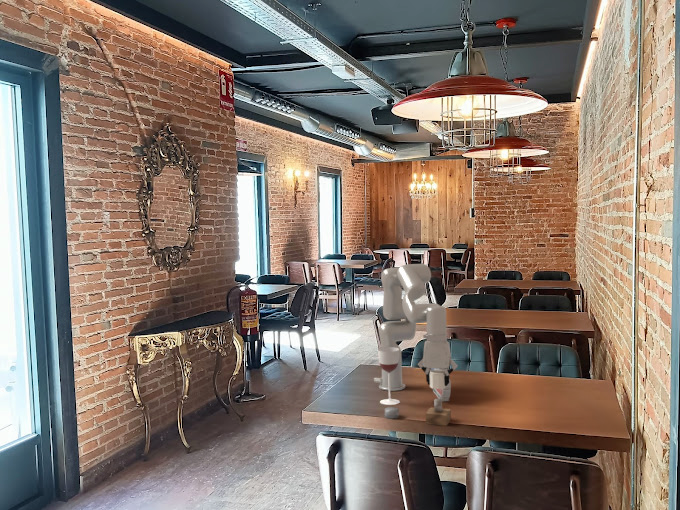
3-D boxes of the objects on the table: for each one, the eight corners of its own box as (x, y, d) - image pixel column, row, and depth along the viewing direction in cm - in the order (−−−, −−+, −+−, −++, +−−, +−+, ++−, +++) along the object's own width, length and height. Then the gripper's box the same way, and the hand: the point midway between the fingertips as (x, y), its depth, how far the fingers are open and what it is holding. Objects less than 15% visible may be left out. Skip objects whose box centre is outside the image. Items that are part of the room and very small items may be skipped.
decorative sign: (451, 404, 244) (450, 357, 244) (443, 404, 244) (442, 357, 243) (438, 388, 269) (437, 346, 268) (431, 389, 268) (430, 346, 268)
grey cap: (386, 419, 227) (386, 412, 226) (383, 414, 232) (383, 407, 232) (400, 418, 227) (400, 411, 227) (396, 414, 233) (396, 406, 233)
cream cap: (428, 388, 220) (428, 372, 220) (432, 384, 226) (431, 369, 225) (443, 389, 218) (443, 373, 218) (447, 385, 223) (446, 370, 223)
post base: (425, 423, 220) (425, 401, 220) (430, 417, 228) (430, 396, 227) (446, 425, 217) (446, 403, 217) (451, 419, 224) (450, 397, 224)
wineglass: (402, 399, 253) (401, 347, 252) (397, 405, 244) (396, 352, 243) (382, 397, 256) (381, 346, 255) (376, 404, 247) (375, 351, 246)
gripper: (412, 338, 221) (413, 385, 222) (457, 340, 214) (458, 388, 215) (417, 335, 228) (418, 380, 228) (461, 337, 221) (462, 383, 222)
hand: (437, 384), depth 222 cm, fingers closed on cream cap, 6 cm apart
